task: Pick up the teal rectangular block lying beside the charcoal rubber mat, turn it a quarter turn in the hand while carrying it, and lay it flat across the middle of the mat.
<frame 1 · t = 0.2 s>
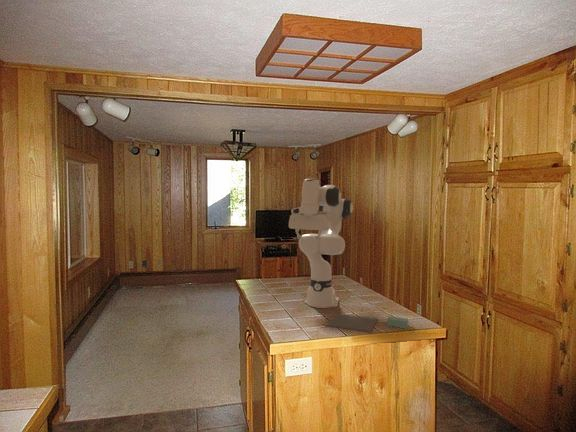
hand: (308, 239, 187), 39 cm above the counter, tool pointing down, fingers open, 8 cm apart
teal rectangular block: (397, 326, 179), on the counter
mat: (352, 322, 181), on the counter
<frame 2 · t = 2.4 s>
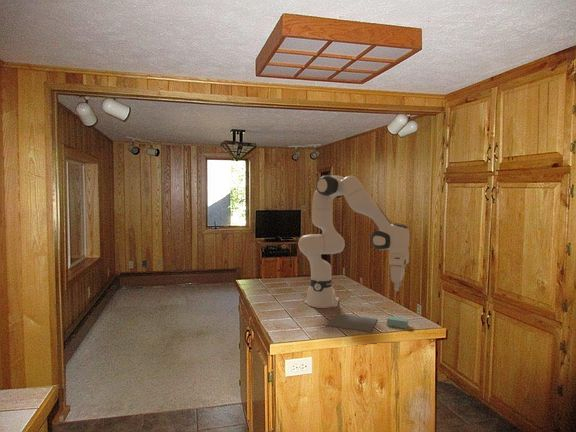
hand: (398, 288, 177), 18 cm above the counter, tool pointing down, fingers open, 8 cm apart
nothing on the counter moved.
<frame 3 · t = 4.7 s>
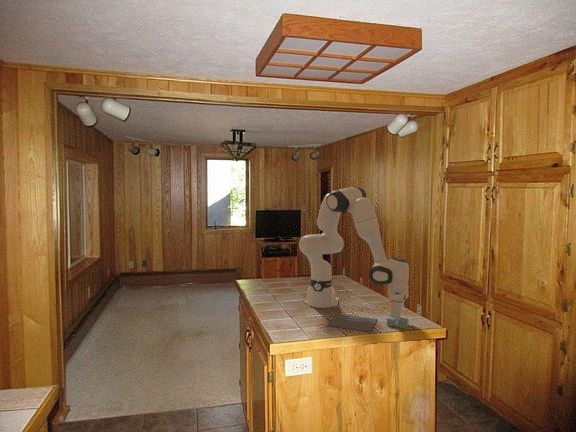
hand: (397, 322, 178), 2 cm above the counter, tool pointing down, fingers closed on teal rectangular block, 5 cm apart
teal rectangular block: (397, 325, 179), on the counter, touching gripper
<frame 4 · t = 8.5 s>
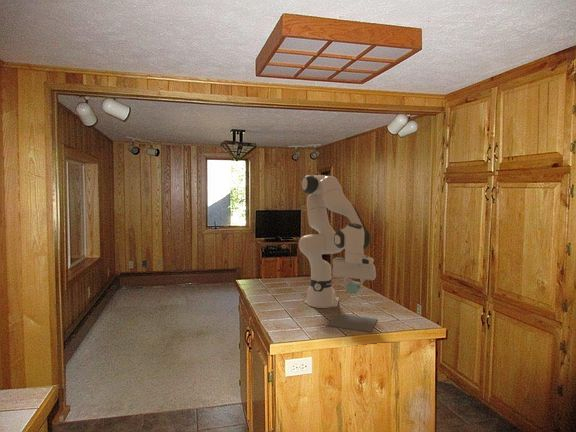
hand: (353, 287, 180), 17 cm above the counter, tool pointing down, fingers closed on teal rectangular block, 5 cm apart
teal rectangular block: (353, 290, 181), point 15 cm above the counter, touching gripper
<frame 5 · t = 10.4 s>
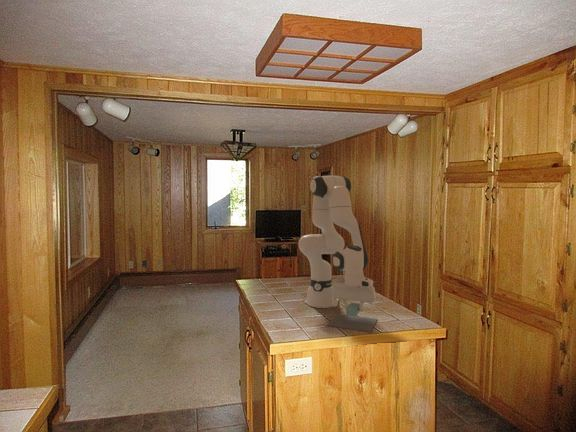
hand: (353, 309, 181), 7 cm above the counter, tool pointing down, fingers closed on teal rectangular block, 5 cm apart
teal rectangular block: (353, 312, 181), point 5 cm above the counter, touching gripper
when the fingers open (3 cm above the counter, at t = 11.9 s): teal rectangular block stays where it is, resting on mat.
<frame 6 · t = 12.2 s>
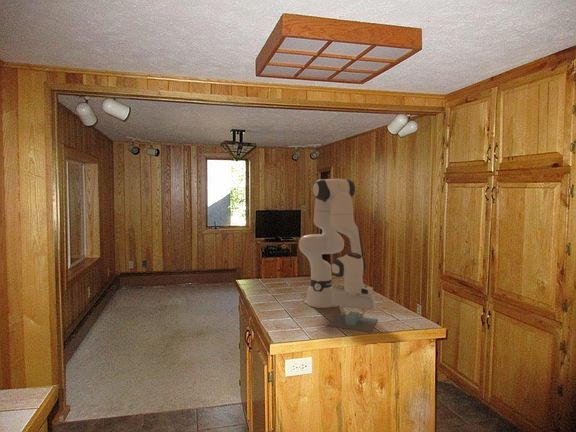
hand: (352, 316, 181), 3 cm above the counter, tool pointing down, fingers open, 7 cm apart
teal rectangular block: (352, 321, 181), resting on mat
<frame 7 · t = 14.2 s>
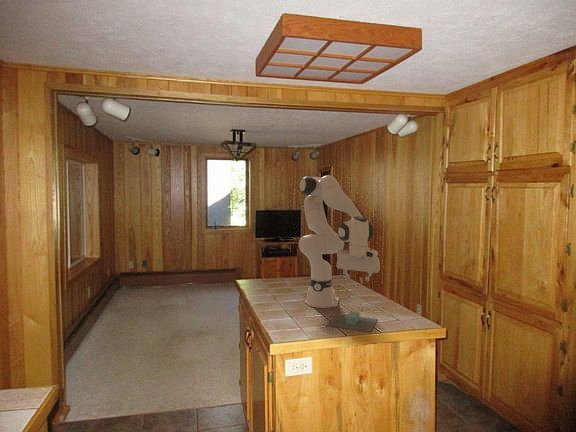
hand: (357, 279, 182), 20 cm above the counter, tool pointing down, fingers open, 8 cm apart
nothing on the counter moved.
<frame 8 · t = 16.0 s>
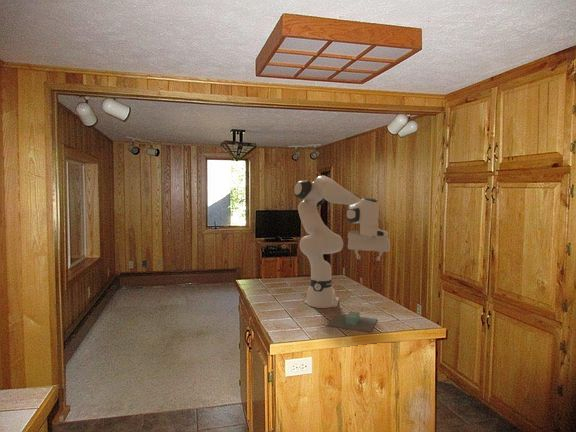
hand: (368, 259, 186), 29 cm above the counter, tool pointing down, fingers open, 8 cm apart
nothing on the counter moved.
at the end: teal rectangular block inside the target area on the mat (0.0 cm from its centre), point 0.5 cm above the mat's base; teal rectangular block touching mat; the gripper is holding nothing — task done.
